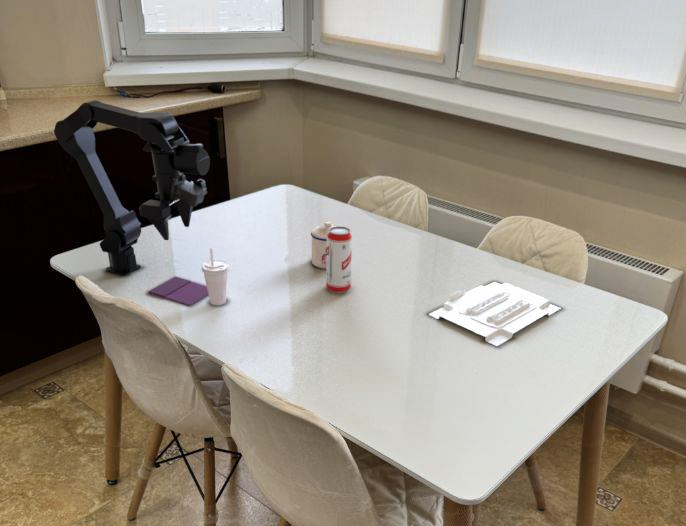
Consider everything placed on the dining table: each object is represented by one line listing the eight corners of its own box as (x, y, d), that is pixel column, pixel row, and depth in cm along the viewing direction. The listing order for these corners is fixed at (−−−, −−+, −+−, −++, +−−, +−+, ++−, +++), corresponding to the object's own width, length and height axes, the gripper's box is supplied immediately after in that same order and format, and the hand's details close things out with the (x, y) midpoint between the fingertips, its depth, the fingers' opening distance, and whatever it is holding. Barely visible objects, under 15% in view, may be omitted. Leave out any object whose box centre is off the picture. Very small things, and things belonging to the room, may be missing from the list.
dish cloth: (148, 292, 172) (148, 291, 172) (175, 278, 180) (175, 276, 179) (190, 305, 167) (190, 303, 167) (215, 290, 175) (215, 288, 175)
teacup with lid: (322, 272, 186) (322, 231, 180) (304, 260, 192) (304, 220, 186) (358, 263, 192) (360, 223, 186) (340, 251, 198) (341, 212, 192)
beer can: (353, 286, 180) (356, 227, 171) (345, 296, 175) (347, 236, 166) (331, 282, 181) (332, 224, 173) (322, 292, 176) (323, 232, 168)
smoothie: (206, 295, 172) (201, 243, 164) (232, 295, 173) (228, 243, 165) (203, 307, 167) (198, 254, 159) (230, 307, 167) (226, 254, 160)
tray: (561, 308, 174) (564, 294, 172) (497, 350, 157) (499, 336, 155) (494, 281, 186) (495, 268, 183) (427, 318, 169) (428, 305, 167)
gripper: (174, 186, 153) (184, 251, 162) (217, 163, 168) (224, 224, 177) (132, 181, 157) (144, 245, 165) (177, 158, 171) (186, 219, 180)
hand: (176, 233), depth 172 cm, fingers open, 9 cm apart
